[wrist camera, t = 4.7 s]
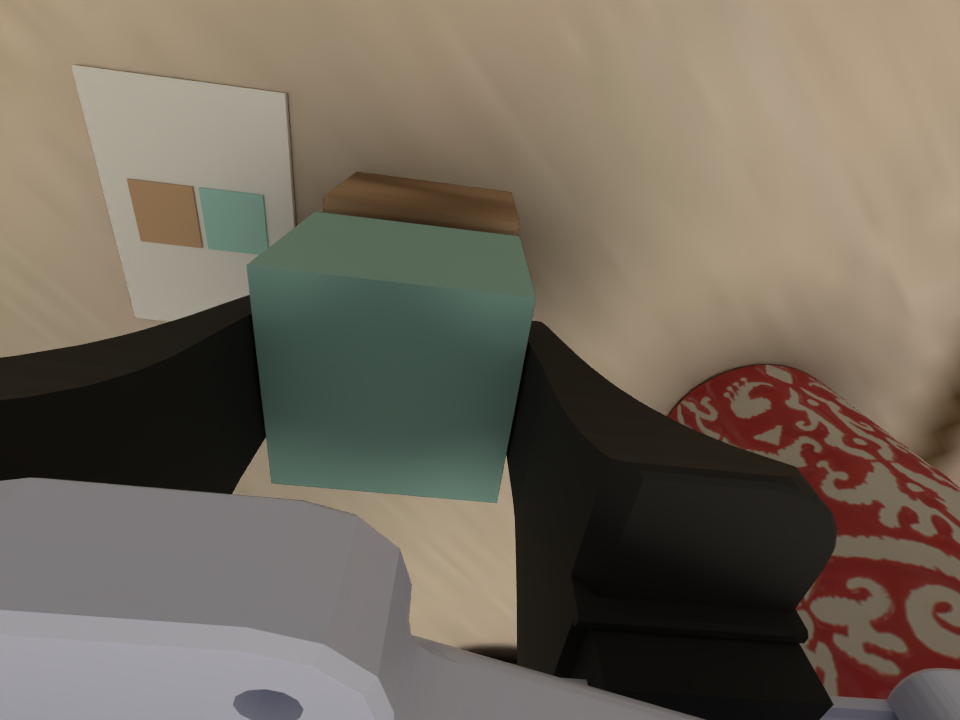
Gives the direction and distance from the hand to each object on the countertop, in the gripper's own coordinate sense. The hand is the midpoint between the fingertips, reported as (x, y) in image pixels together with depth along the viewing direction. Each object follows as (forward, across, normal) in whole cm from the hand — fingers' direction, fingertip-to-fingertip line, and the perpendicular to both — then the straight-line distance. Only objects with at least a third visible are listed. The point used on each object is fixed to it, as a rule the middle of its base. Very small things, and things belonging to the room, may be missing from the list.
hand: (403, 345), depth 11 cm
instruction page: (+6, +8, 0) cm, 10 cm away
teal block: (+2, 0, 0) cm, 2 cm away
